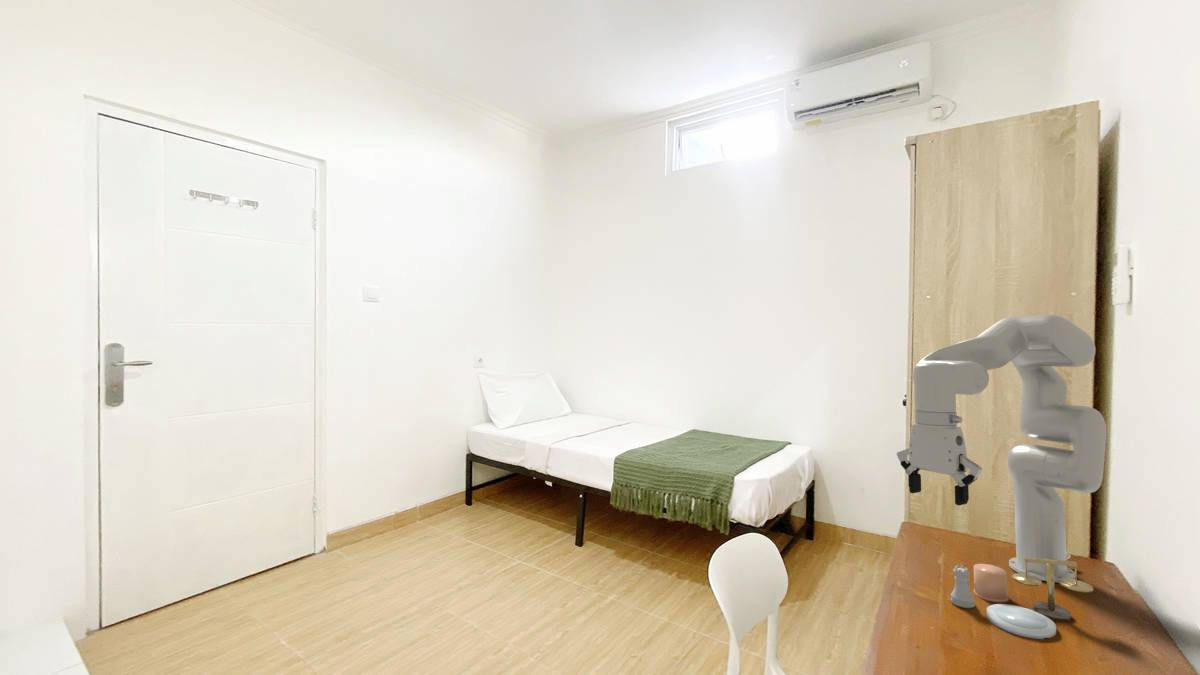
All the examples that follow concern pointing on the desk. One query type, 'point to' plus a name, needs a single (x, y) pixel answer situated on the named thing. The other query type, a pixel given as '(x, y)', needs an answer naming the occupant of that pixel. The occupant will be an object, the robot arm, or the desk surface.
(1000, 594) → the peach dome knob
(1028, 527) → the robot arm
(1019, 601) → the desk surface
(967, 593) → the rook chess piece
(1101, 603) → the desk surface
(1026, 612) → the dish
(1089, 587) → the balance
